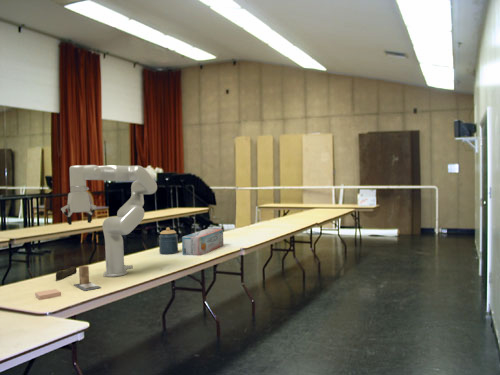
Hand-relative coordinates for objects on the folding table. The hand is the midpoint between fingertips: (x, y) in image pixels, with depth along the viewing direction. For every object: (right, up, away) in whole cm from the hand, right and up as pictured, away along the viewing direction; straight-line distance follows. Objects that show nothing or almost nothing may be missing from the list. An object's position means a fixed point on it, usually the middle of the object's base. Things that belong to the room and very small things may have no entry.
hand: (79, 223), depth 223 cm
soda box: (+54, -27, +89) cm, 107 cm away
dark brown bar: (-14, -31, +16) cm, 37 cm away
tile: (-8, -30, -20) cm, 37 cm away
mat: (+6, -30, -7) cm, 32 cm away
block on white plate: (+7, -30, -7) cm, 31 cm away
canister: (+30, -27, +82) cm, 91 cm away
